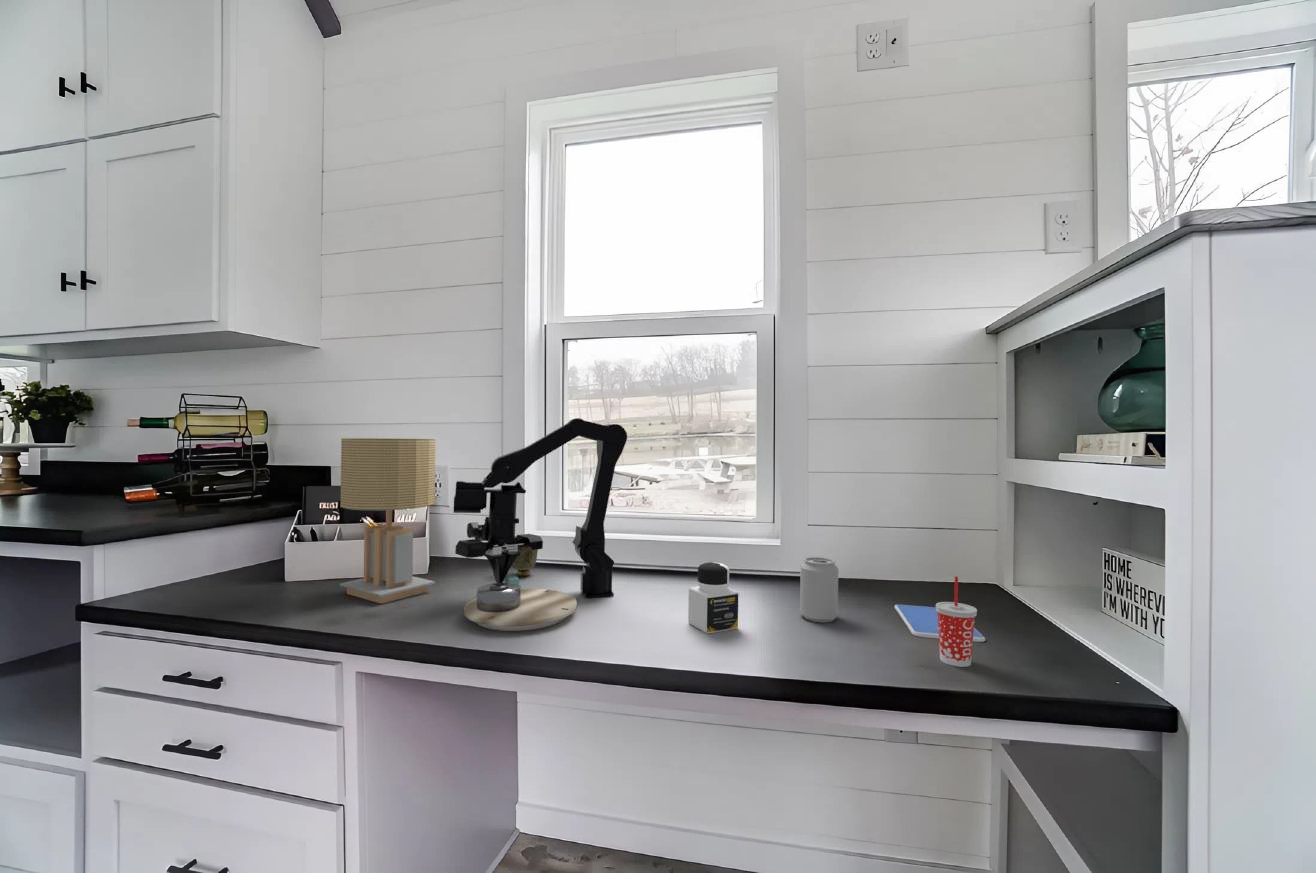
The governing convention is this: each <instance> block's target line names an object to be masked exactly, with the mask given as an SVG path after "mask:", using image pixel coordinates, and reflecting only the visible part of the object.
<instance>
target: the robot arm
mask: <svg viewBox="0 0 1316 873" xmlns="http://www.w3.org/2000/svg"><path fill="white" fill-rule="evenodd" d="M577 437H581V438H584V439H589V440H592V441H595V442H596V455H597V457H596V458H597V462H596V463H597V464H596V468H595V473H594V478H593V483H592V488H591V492H590V498H589V503H588V508H587V512H586V518H585V521H584V523H583V525H582V526H579V525H576V527H575V535H574V539H573V540H572V544H573V545H574V550H575V551H574V552H575V553H576V554H577V555H578V557H579V558H580V559H581V560H582V561H583V563H584V564H585V565H583V566H582V572H581V573H580V588H579V589H580V592H581V593H582V594H583V595H584V596H583V597H584V598H587V599H588V598H599V597H600V598H602V597H612V596H614V595H615V594H614V592H613V566H614V564H615V561H614V560H613V558H611V557H610V555H608V554H607V552H605V550H606V548H605V547H606V546H605V545H606V536H605V525H604V524H605V520H606V516H607V515H606V514H607V509H608V503H609V499H610V495H611V494H610V493H611V489H612V484H613V479H614V474H615V469H616V465H617V463H618V461H619V459H620V457H621V455H622V453H623V451H624V449H625V446H626V443H627V441H628V433H627V431H626V429H625V428H624V427H623V426H622V425H620V424H617V423H610V424H605V425H604V424H600V423H596V422H591V421H588V420H584V419H583V418H579V417H577V418H572V419H570V420H569V421H568V422H567V423H565V424H564V425H561V426H560V427H559V428H556V429H555V430H553V431H552V432H550V433H548V434H546V435H545V436H543V437H541V438H540V439H537V440H536V441H534V442H532V443H531V444H529V445H526V446H525V447H523V448H520V449H517V450H514V451H511V452H509V453H506V454H503V455H501V456H498V457H497V458H495V459H494V460H493V461H492V463H491V466H490V472H489V473H488V474H487V475H486V477H484V478H483V480H482V481H481V482H470V481H469V482H468V481H463V480H457V481H456V482H455V495H454V497H453V514H481V513H482V510H484V509H487V501H488V494H489V508H488V511H489V512H488V516H486V517H485V518H484V524H479V522H478V521H475V522H472V521H471V522H469V523H467V526H466V535H467V537H468V539H465V540H463V539H462V540H461V539H460V540H458V542H457V544H456V545H455V552H454V554H456V555H458V556H461V557H464V558H469V559H472V558H473V559H474V558H480V557H485V558H486V559H487V560H488V562H489V564H490V566H491V570H492V573H493V576H494V579H495V583H504V582H505V577H506V575H507V573H509V571H510V569H511V568H512V567H513V566H512V564H513V563H514V561H515V559H516V558H517V556H520V555H521V553H520V552H517V547H524V546H529V548H530V549H531V550H537V549H538V550H543V549H544V541H543V538H542V536H540V535H537V534H533V533H525V534H524V533H522V534H516V524H519V523H520V518H518V517H517V500H518V498H517V497H518V496H517V495H518V494H526V493H527V490H526V489H525V488H523V486H522V484H521V483H520V482H519V481H517V482H516V483H515V484H512V485H511V484H510V483H513V481H515V480H516V479H517V478H518V477H520V475H522V474H523V473H525V472H526V470H528V469H529V468H530V467H531V466H532V465H533V464H534V463H535V462H536V461H538V460H540V459H542V458H543V457H545V456H547V455H549V454H551V453H552V452H553V451H556V450H557V449H559V448H560V447H562V446H564V445H565V444H568V443H569V442H571V441H572V440H574V439H576V438H577ZM501 483H502V484H501ZM500 484H501V485H500ZM498 485H500V488H495V487H498ZM493 488H494V489H493Z"/></svg>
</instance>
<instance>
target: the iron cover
mask: <svg viewBox="0 0 1316 873" xmlns="http://www.w3.org/2000/svg"><path fill="white" fill-rule="evenodd" d="M521 589H522V588H521V585H520V584H519V585H517V584H512V583H505V582H503V583H496V582H495V583H490V584H484V585H482V586H479V587H478V588H476V597H477V609H478V610H480V611H483V612H506V611H511V610H514V609H517V608H518V607H520V605H521Z"/></svg>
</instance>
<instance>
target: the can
mask: <svg viewBox="0 0 1316 873" xmlns="http://www.w3.org/2000/svg"><path fill="white" fill-rule="evenodd" d="M835 563H836V560H834V559H833V558H828V557H822V556H808V557H805V558H803V563H802V564H801V565H800V575H799V576H800V582H799V583H800V584H799V585H800V586H799V587H800V588H799V591H800V592H799V595H800V596H799V613H800V614H801V616H802V617H803V618H804V619H805V620H808V621H811V622H816V623H830V622H833V621H834V620H835V619H836V618H837V617H839V616H838V615H839V613H838V612H839V568H838V566H837V565H836V564H835Z"/></svg>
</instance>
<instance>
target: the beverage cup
mask: <svg viewBox="0 0 1316 873" xmlns="http://www.w3.org/2000/svg"><path fill="white" fill-rule="evenodd" d="M958 596H959V576H954V601H939V602H936V604H935V607H936V611H937V612H938V631H939V639H938V642H939V643H938V645H939V659H940V661H941V662H942V663H944V664H946V665H949V666H952V667H960V668H964V667H970V666H972V657H973V656H972V655H973V643H974V641H973V633H974V628H975V618H976V617H977V613H978V609H977V608H976V607H975V606H972V605H970V604H965V603H962V602H961V603H960V602H959V597H958Z"/></svg>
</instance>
